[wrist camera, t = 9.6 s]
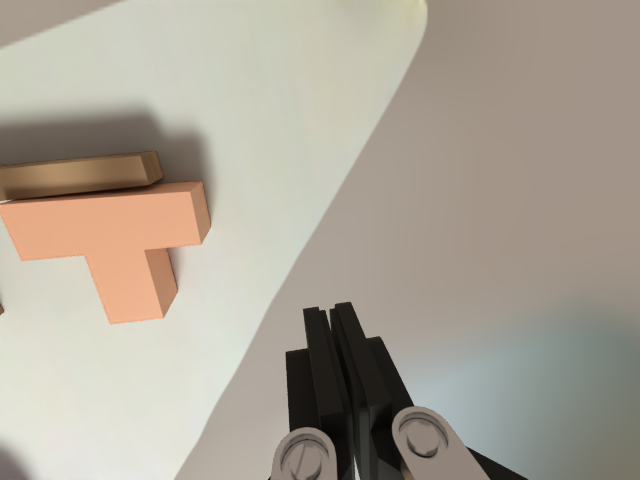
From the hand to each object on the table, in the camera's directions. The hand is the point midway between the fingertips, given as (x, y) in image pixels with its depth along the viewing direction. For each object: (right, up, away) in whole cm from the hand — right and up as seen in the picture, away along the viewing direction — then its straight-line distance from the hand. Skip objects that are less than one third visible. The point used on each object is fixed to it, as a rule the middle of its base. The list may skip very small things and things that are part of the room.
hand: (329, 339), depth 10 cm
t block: (-16, +3, +15) cm, 22 cm away
